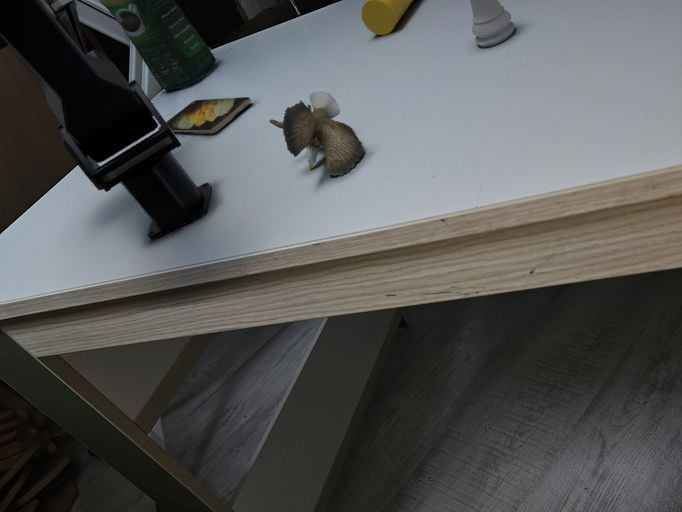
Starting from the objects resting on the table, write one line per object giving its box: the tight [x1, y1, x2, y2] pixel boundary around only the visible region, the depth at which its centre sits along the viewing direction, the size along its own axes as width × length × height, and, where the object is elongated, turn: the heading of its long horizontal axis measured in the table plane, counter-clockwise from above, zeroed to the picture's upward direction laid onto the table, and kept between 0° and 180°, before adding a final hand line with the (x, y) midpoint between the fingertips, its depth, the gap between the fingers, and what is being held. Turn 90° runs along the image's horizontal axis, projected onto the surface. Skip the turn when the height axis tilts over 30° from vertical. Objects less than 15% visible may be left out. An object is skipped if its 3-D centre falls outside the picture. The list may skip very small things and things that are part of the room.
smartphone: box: [158, 96, 252, 134], centre depth 91 cm, size 7×1×15 cm
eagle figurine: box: [268, 90, 363, 177], centre depth 65 cm, size 8×7×9 cm
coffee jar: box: [98, 0, 217, 91], centre depth 103 cm, size 10×8×19 cm
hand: (91, 85), depth 73 cm, fingers closed
